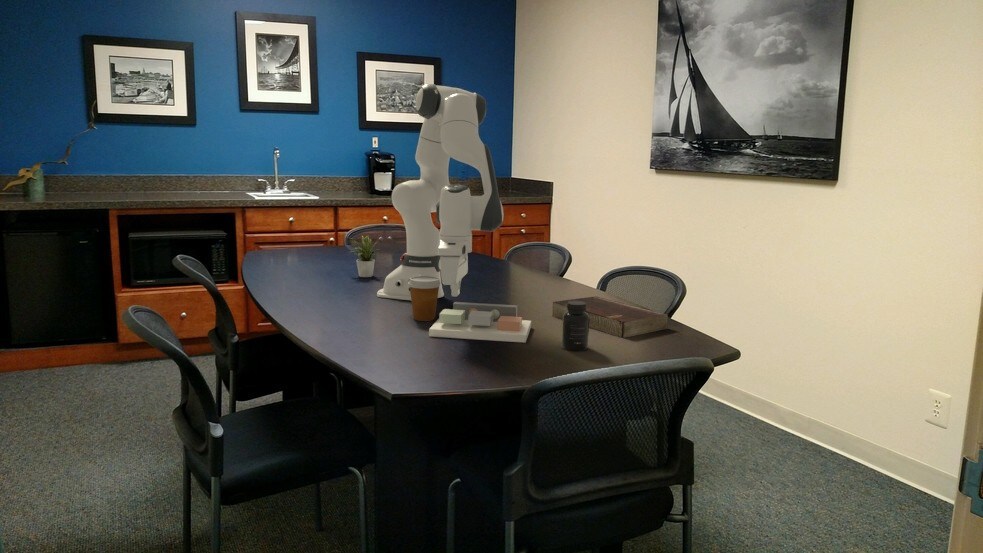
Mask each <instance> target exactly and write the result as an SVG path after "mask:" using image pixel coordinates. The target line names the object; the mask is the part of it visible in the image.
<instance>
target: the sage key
mask: <svg viewBox="0 0 983 553" xmlns="http://www.w3.org/2000/svg"><path fill="white" fill-rule="evenodd" d="M438 316H439V318H438V319H439V323H451V324H461V323H462V322H463V321H464V320H465V310H453V308H452V309H451V308H444V309H442V310H441V311H440V312H439V314H438Z"/></svg>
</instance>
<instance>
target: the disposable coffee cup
mask: <svg viewBox="0 0 983 553" xmlns="http://www.w3.org/2000/svg"><path fill="white" fill-rule="evenodd" d="M408 284H409V286H410V293H411V300H410V301H411V307H412V308H411V309H412V310H411V311H412V316H413V320H415V321H421V322H422V321H423V322H428V321H434V320H435V319H436V312H437V305H438V299H439V298H438V290H439V286H440V284H442V282H441V283H440V281H439V278H437V277H432V276H416V277H411V278H410V280H409V282H408Z"/></svg>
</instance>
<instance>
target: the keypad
mask: <svg viewBox="0 0 983 553" xmlns="http://www.w3.org/2000/svg"><path fill="white" fill-rule="evenodd" d="M452 309H453V310H465V320H464V321H463V322H462V323H461V324H451V323H439V318H438V319H437V320H436V321H435V322H434V323H433V324H432V326H431V327H429V329H428V336H429V337H434V338H435V337H436V338H446V339H449V338H451V339H465V340H480V341H481V340H482V341H493V342H494V341H495V342H511V343H512V342H514V343H526V342H527V339H528V338H529V337H528V336H529V334H530V330H531V328H532V320H525V319H522V327H521V329H520V331H506V330H497V327H498V320H499V318H500V316H512V317H518V305H516V304H515V305H514V304H513V305H512V304H497V303H480V302H478V303H477V302H465V301H463V302H461V301H454V302H453V303H452ZM472 311H487V312H494V316H493V322H492V324H491V325H490V326H483V325H468V316H469V314H470V313H471V312H472Z"/></svg>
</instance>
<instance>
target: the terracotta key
mask: <svg viewBox="0 0 983 553" xmlns="http://www.w3.org/2000/svg"><path fill="white" fill-rule="evenodd" d="M522 320H523V317H522V316H517V317H512V316H500V318H499V320H498V327H497V330H506V331H520V329H521V327H522Z"/></svg>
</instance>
